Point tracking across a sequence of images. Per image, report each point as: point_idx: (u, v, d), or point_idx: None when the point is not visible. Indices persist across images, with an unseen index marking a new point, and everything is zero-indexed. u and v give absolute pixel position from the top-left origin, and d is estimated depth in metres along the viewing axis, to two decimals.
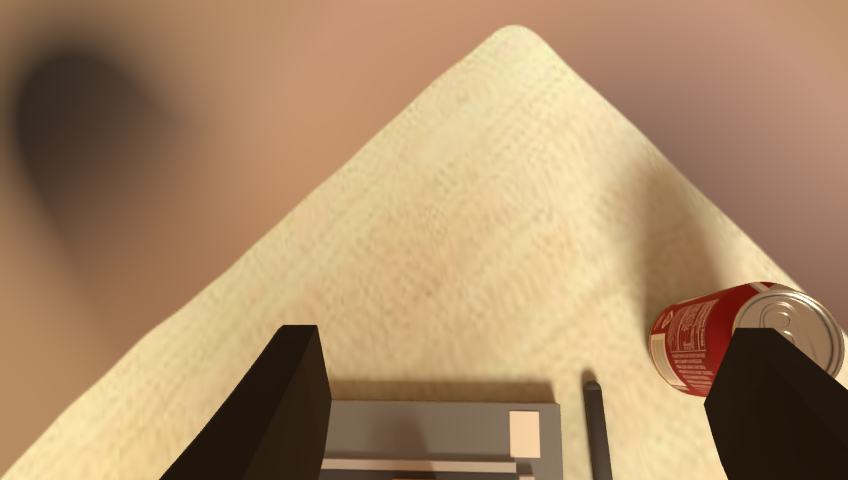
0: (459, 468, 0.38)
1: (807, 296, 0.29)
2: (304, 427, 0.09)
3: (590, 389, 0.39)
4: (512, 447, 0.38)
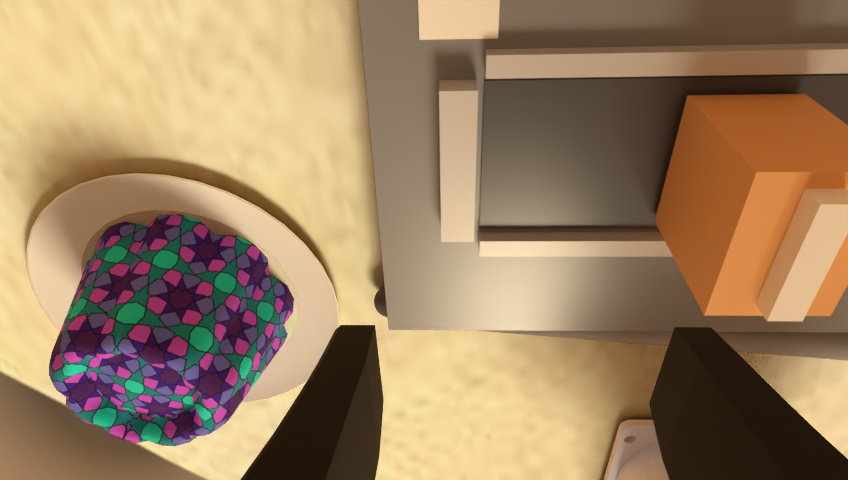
0: None
1: None
2: (367, 428, 0.09)
3: None
4: None
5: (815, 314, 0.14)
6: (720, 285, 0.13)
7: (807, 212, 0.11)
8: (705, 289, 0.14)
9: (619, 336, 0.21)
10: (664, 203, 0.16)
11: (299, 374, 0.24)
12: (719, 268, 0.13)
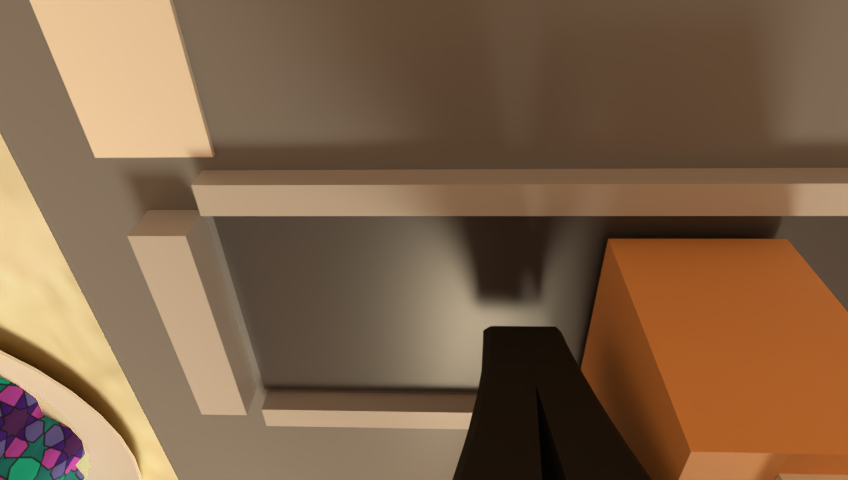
0: (802, 207, 0.09)
1: None
2: None
3: None
4: None
5: None
6: None
7: None
8: None
9: None
10: (585, 375, 0.11)
11: None
12: None
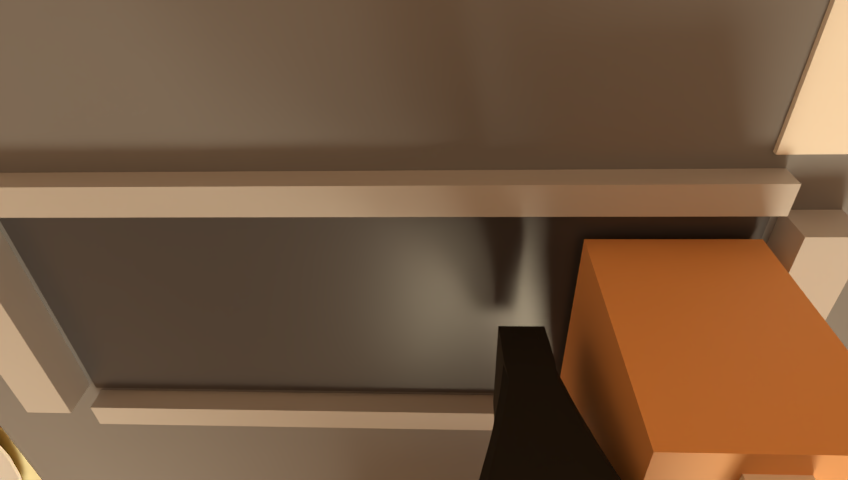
0: (550, 208, 0.09)
1: None
2: None
3: None
4: (798, 116, 0.08)
5: None
6: None
7: None
8: None
9: None
10: (565, 375, 0.11)
11: None
12: None
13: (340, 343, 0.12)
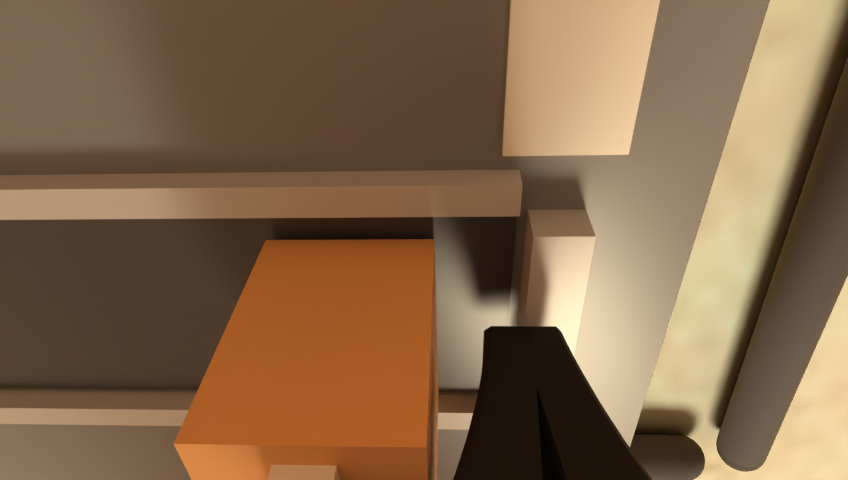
0: (291, 209, 0.09)
1: None
2: None
3: None
4: (513, 119, 0.09)
5: None
6: None
7: None
8: None
9: None
10: None
11: None
12: None
13: (145, 342, 0.12)
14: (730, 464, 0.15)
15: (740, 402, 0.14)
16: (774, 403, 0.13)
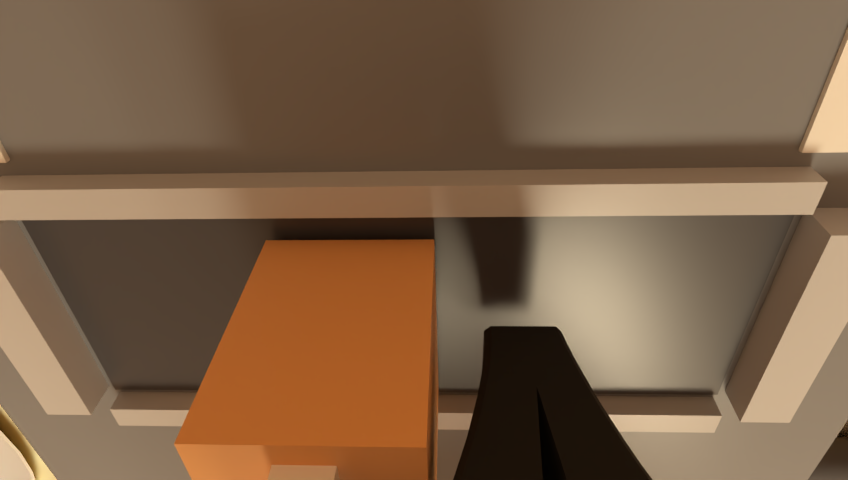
0: (574, 207, 0.09)
1: None
2: None
3: None
4: (825, 114, 0.08)
5: None
6: None
7: None
8: None
9: None
10: None
11: None
12: None
13: None
14: None
15: None
16: None
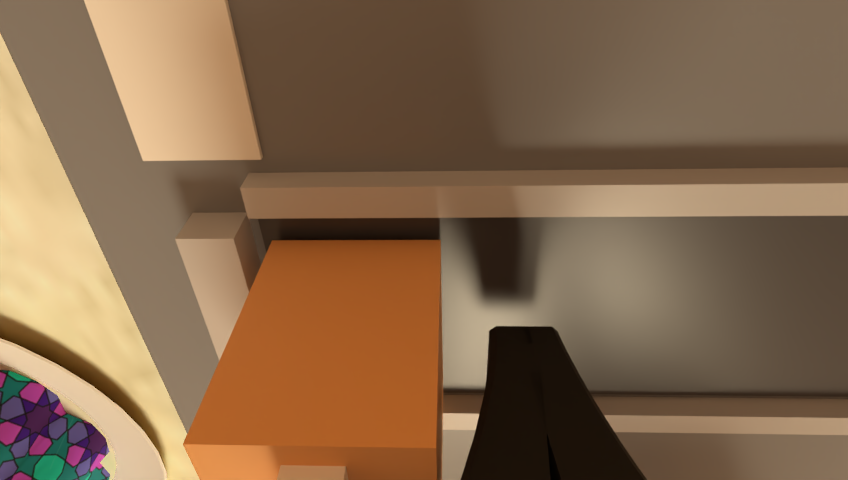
0: None
1: None
2: None
3: None
4: None
5: None
6: None
7: None
8: None
9: None
10: None
11: None
12: None
13: (567, 345, 0.12)
14: None
15: None
16: None
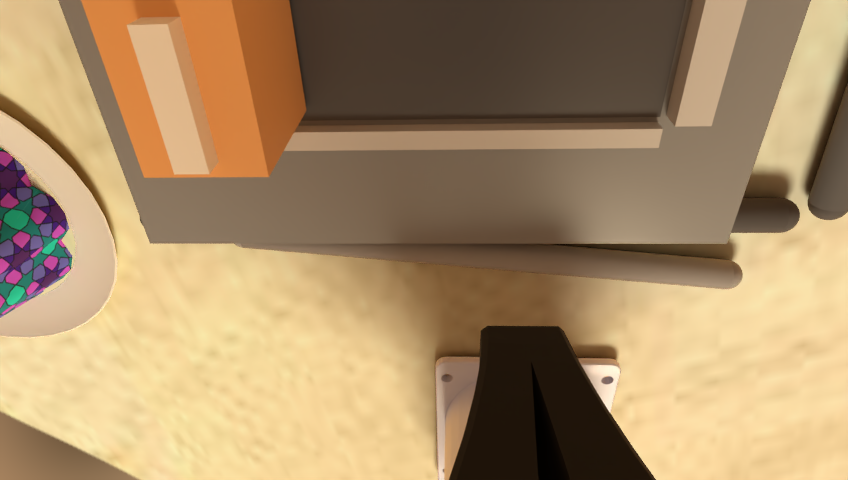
0: None
1: None
2: None
3: None
4: None
5: (251, 175, 0.13)
6: (135, 139, 0.13)
7: None
8: None
9: (395, 253, 0.20)
10: None
11: (94, 301, 0.23)
12: (124, 118, 0.12)
13: (392, 71, 0.16)
14: (821, 212, 0.19)
15: (834, 147, 0.18)
16: None
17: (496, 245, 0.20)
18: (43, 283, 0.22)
